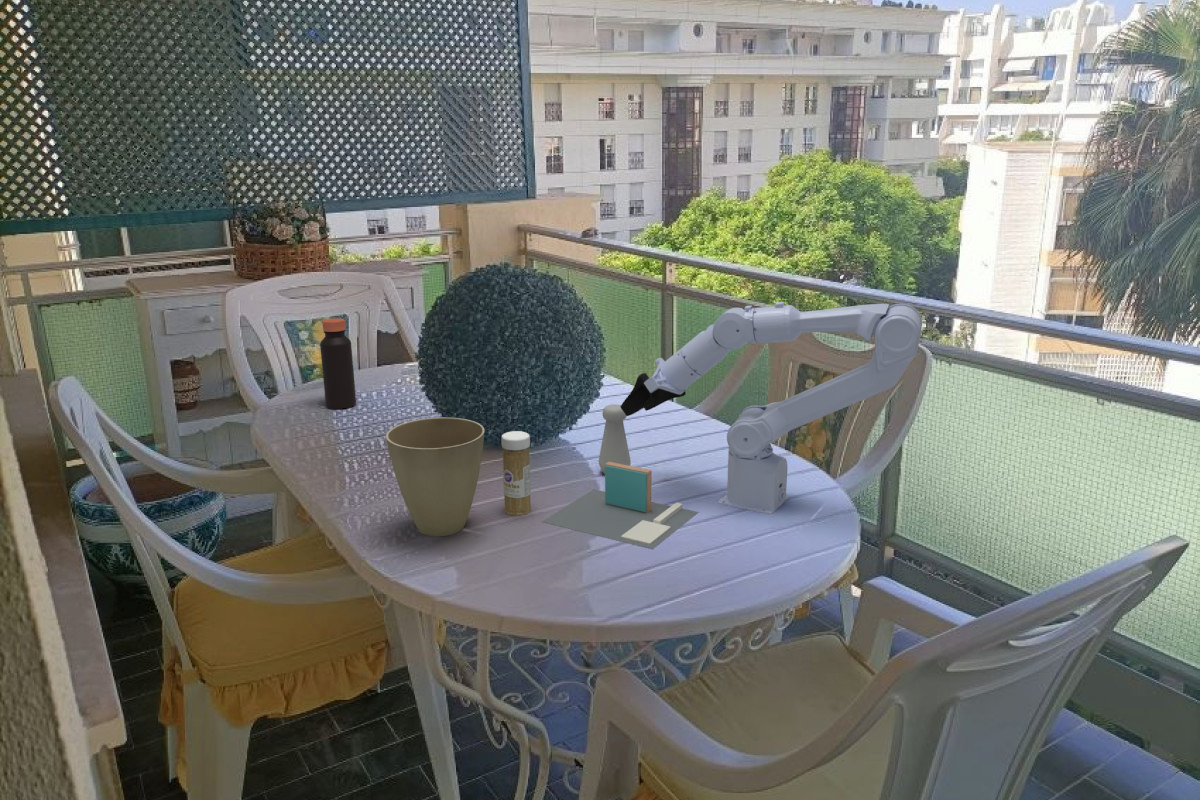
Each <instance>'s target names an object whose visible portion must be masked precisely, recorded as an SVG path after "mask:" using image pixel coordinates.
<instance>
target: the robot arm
mask: <svg viewBox="0 0 1200 800" xmlns="http://www.w3.org/2000/svg"><path fill="white" fill-rule="evenodd" d="M922 320H923V319H922V316H921V313H919V311H918V310H917V309H916V308H915V307H914V306H912V305H909V304H908V303H907V304H906V303H896V304H892V305H890V304H889V303H873V304H871V303H869V304H860V305H852V306H844V307H843V306H842V307H833V308H826V309H818V310H817V309H816V310H811V311H808V310H807V311H801V310H799V309H798V308H796V307H795V306H794V305H792V304H789V305H788V304H787V305H785V302H784V301H777V302H775V303H774V306H765V307H764V306H762V307H753V305H746V306H744V308H742V307H732V308H729V309H726V310H725V311H724V312H723V313H722V314H721V315H720V316H719V317H717V319H716V320H715V322H714V323H713V324H711V325H709V326H707V327H706V329H705V330H702V331H701V332H699V333H698V334H696V336H694V337H693V338H692V339H691V340H690V341H688V342H687V343H686V344H684V345H683V346H682V347H681V348H680V349H678V351H676V352H675V353H673V354H672V355H671V356H670V357H669V358H668V359H666V360H664V358H662V357H658V358H656V359H655V361H654V363H655V364H656V365H657V368H656V369H655V370H654V373H653V375H652V376H650V377H649V376H648V375H647V373H646V372H643V373H641V374H639V375H638V376H637V379H636V380H635V384H634V386H633V388H632V390H631V391H630V393H629V394H628V395H627V397H626V398H625V399H624V400H623V402H622V404H620V405H621V406H620V407H621V409H622V410H623V412H624V413H625V415H626V416H627V417H630V416H632V415H634V414H636V413H637V412H640V411H642V410H643V409H644V410H645V412H646V411H650V410H652V409H654V408H656V407H658V406H660V405H661V404H664V403H665V402H667V401H669V400H670V401H671V400H672V399H675V398H677V399H678V398H681V397H684V396H685V395H686V394H687V393H686V389H687V388H689V387H690V386H691V385H693V384H694V383H695V382H696V381H698V380H699V379H700V378H701V377H703V376H704V375H705V374H707V373H708V372H709V371H711V369H713V368H714V367H716V365H718V364H719V363H720V362H722V361H723V360H724V359H725V357H726V356H727V354H729V353H730V352H732V351H733V350H738V349H741V348H742V347H744V346H745V345H746V344H747V343H751V344H753V345H760V344H776V343H791V342H794V341H796V340H797V339H798V337H799V336H801V334H803V333H804V334H805V333H833V332H834V333H837V332H854V333H855V334H857V335H858V336H860V337H862V338H864V339H865V340H866V341H868V342H871V339H872V337H873V336H875V337H874V338H875V341H874V343H875V348H874V351H873V354H872V357H871V360H870V361H869V362H867V363H865V364H863V365H861V366H858V367H856V368H854V369H852V370H850V371H847V372H844V373H843V374H841V375H838V376H835V377H833V378H831V379H829V380H826V381H824V382H822V383H820V384H818V385H815V386H813V387H811V388H809V389H806V390H804V391H802V392H799V393H798V394H795V395H792V396H790V397H788V398H785V399H784V400H781V401H774V402H771V403H768V404H766V405H750V406H747V407H745V408H744V409H743V410H742V411H741V412H740V413H739V416H738V417H737V419H736V421H734V422H733V423H732V425H730V427H729V428H728V430H727V433H726V443H727V445H728V453H727V455H728V458H727V486H726V487H727V488H726V493H725V495H724V496H722V497H721V498H720V499H718V501H717V504H719V505H724V506H729V507H731V508H733V507H734V508H738V509H743V510H747V511H753V512H757V513H762V514H767V515H772V514H773V513H775V511H776V510H778V509H779V508H780V506H782V505H783V504H784V503H785V501H787V500H788V496H787V488H788V487H787V484H788V461H787V459H786V457H783V456H781V455H778V454H776V453H774V448H773V447H772V443H774V442H776V441H778V440H779V439H781V438H782V437H783V436H785V435H786V434H787V433H790V432H791V431H793V430H795V429H798V428H800V427H802V426H804V425H807V424H809V423H812V422H814V421H816V420H818V419H821V418H823V417H826V416H828V415H831V414H832V413H835V412H838V411H839V410H842V409H844V408H847V407H850V406H852V405H854V404H857V403H859V402H861V401H864V400H866V399H868V398H870V397H873V396H875V395H878V394H880V393H883V392H885V391H887V390H889V389H892V388H893V387H894V386H895V385H897V383H898V382H899V380H900V379H901V377H902V376H903V375H904V373H905V371H906V370H907V368H908V367H909V365H910V363H911V362H912V361H913V360H914V358H915V357H916V356H917V354H918V350H919V349H918V348H919V345H920V339H921V331H922V327H923V321H922Z"/></svg>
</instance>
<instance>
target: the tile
mask: <svg viewBox="0 0 1200 800" xmlns="http://www.w3.org/2000/svg"><path fill="white" fill-rule="evenodd" d="M652 471H653V470H652V469H648V468H644V467H643V468H642V467H638V466H632V465H630V466H628V465H623V464H618V463H613V462H608V463H606V464H605V474H604V492H605V504H610V505H614V506H619V507H623V508H627V509H632V510H636V511H641V512H645V513H648V512H650V511H651V502H652V490H653V489H652V488H653V487H652V485H653V484H652V480H653V478H652V473H653V472H652Z"/></svg>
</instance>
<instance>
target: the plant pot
mask: <svg viewBox="0 0 1200 800" xmlns="http://www.w3.org/2000/svg"><path fill="white" fill-rule="evenodd" d="M484 438H485V428H484V426H483V425H482V424H480V423H479V422H476V421H474V420H471V419H466V418H460V417H429V418H420V419H415V420H409V421H407V422H402V423H401V424H397V425H395V426H394V427H392V428H390V429H388V431H387V432H386V434H385V441H386V444H387V448H388V453H389V457H390V461H391V465H392V467H393V472H394V475H395V479H396V481H397V482H396V483H397V484H398V488H399V491H400V493H401V495H402V498H403V500H404V502H405V505H406V508H407V510H408V512H409V514H410V516H411V519H412V521H413V522H414V525H415V527H416V528H417V530H418V532H420V534H423V535H425V536H429V537H445V536H446V537H447V536H451V535H454V534H458V533H459V532H461V531H462V530H463V529H464V527H465V526H466V523H467V520H468V518H469V514H470V511H471V508H472V504H473V501H474V498H475V494H476V490H477V485H478V481H479V476H480V469H481V464H482V457H483V447H484Z"/></svg>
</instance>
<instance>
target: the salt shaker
mask: <svg viewBox="0 0 1200 800" xmlns="http://www.w3.org/2000/svg"><path fill="white" fill-rule="evenodd" d="M621 405H622V404H617V403H616V404H614V403H613V404H608V405H606V406H604V408H603V409H602V418H603V420H605V425H604V430H603V435H602V441H601V446H600V450H599V455H598V457H599V458H598V465H599V467H600V470H601V472H602V474H604V475H605V464H606V463H608V462H613V463H618V464H623V465H628V466H631V463H632V461H631V456H630V450H629V445H628V440H627V435H626V430H625V426H624V421H625V420H626V419H627V417H628V416H626V415H625V413H624V412H623V410H622V409H621V407H620V406H621Z"/></svg>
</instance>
